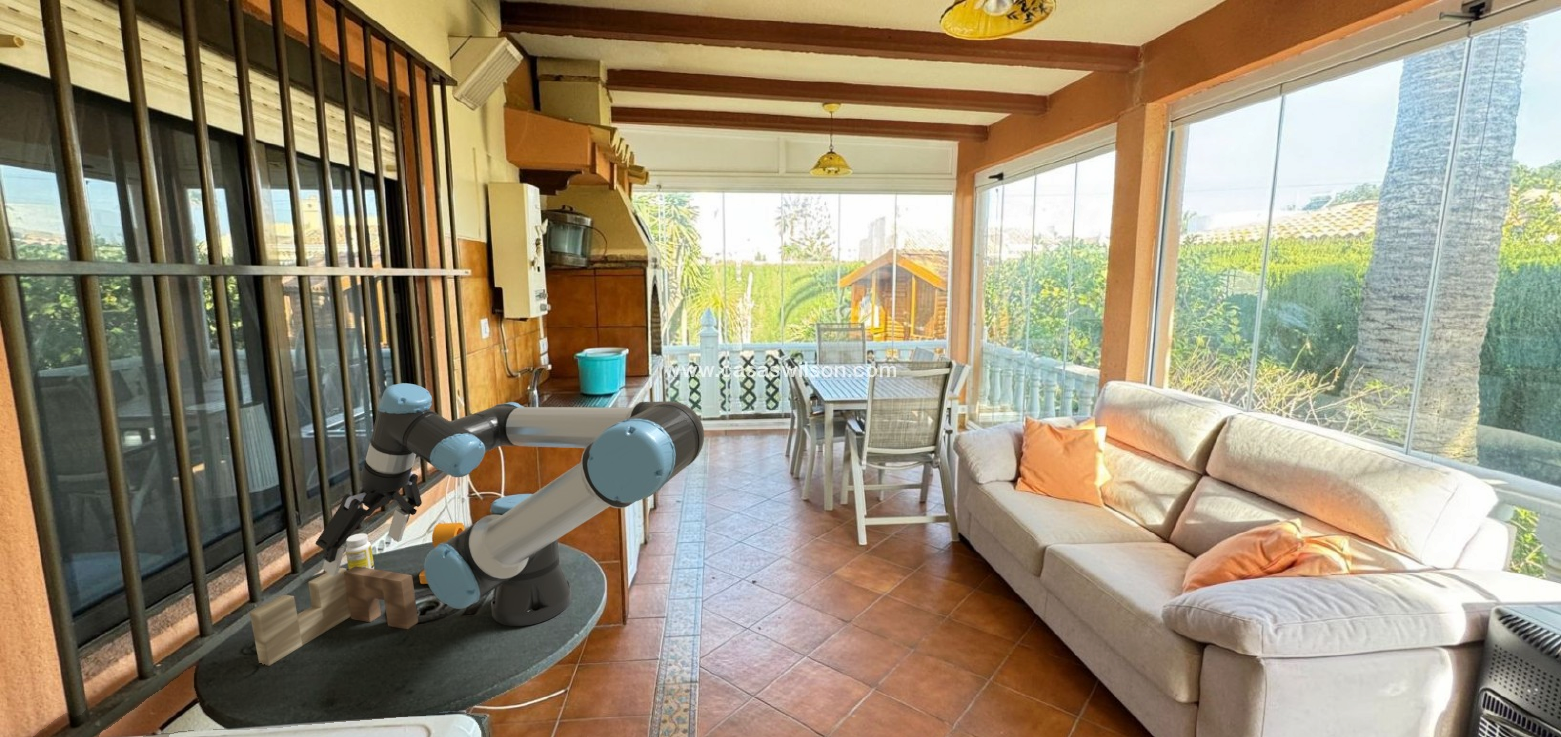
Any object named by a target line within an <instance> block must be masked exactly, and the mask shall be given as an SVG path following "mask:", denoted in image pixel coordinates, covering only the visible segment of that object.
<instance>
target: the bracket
mask: <svg viewBox="0 0 1561 737" xmlns="http://www.w3.org/2000/svg"><path fill="white" fill-rule="evenodd" d="M465 529H466V527H465V524H464V523H463V522H446V523H445V522H444V523H442V522H441V523H436V525H435V526H434V529H433V530H432V534H431V535H432V536H431V542H432V545H433V548H435V547H437V545H438V544H440V543H444V542H446V541H448V540H449V539H451V538H453V537H454V536H456V535H458V534H459V533H461V532H462V531H464V530H465ZM418 576H419V583H420V584H422V585H425V584H426V585H428V583H427V580H426V577H425V569H423V570H422V571H421V572H420V573H419V575H418Z"/></svg>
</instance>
